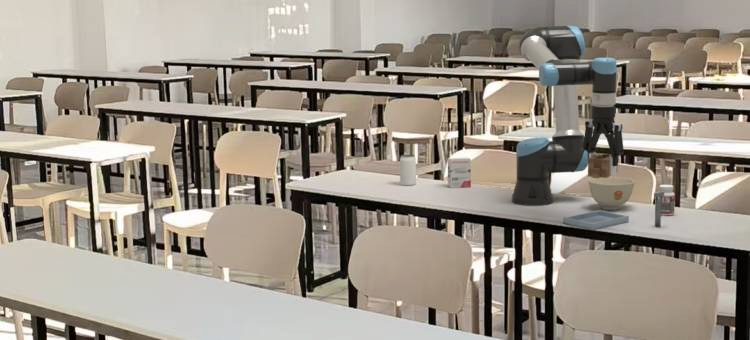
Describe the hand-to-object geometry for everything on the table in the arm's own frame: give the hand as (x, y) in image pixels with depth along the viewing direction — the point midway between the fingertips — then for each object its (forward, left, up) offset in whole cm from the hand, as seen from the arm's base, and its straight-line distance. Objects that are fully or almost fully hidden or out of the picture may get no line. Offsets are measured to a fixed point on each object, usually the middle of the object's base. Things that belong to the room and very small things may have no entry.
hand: (602, 173), depth 336 cm
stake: (+16, +9, -17) cm, 25 cm away
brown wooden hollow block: (0, 0, 0) cm, 0 cm away
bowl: (-13, +20, -17) cm, 29 cm away
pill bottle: (+6, +26, -17) cm, 32 cm away
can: (-99, -4, -17) cm, 101 cm away
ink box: (-81, +8, -17) cm, 83 cm away
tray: (-1, -1, -17) cm, 17 cm away
